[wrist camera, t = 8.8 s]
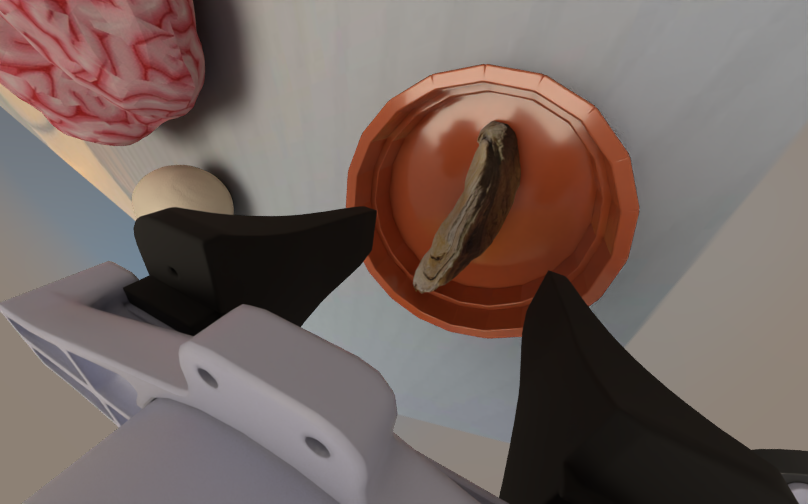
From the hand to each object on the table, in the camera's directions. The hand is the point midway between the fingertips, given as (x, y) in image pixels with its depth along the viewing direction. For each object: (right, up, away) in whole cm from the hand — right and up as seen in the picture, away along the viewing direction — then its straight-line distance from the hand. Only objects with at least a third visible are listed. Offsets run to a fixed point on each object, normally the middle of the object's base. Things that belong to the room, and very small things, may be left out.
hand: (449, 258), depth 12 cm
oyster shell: (+2, +3, +6) cm, 7 cm away
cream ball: (-19, +5, +16) cm, 25 cm away
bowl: (+3, +3, +6) cm, 8 cm away
